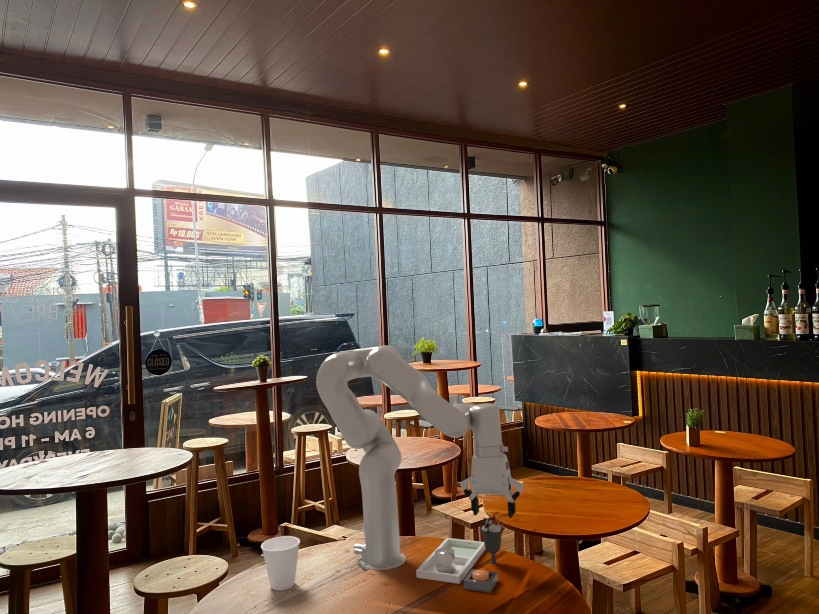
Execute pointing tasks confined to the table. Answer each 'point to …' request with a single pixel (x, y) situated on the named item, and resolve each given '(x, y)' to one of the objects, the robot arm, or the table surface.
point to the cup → (281, 561)
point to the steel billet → (445, 560)
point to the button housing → (480, 582)
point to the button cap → (480, 575)
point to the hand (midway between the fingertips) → (493, 514)
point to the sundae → (492, 536)
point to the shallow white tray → (463, 561)
